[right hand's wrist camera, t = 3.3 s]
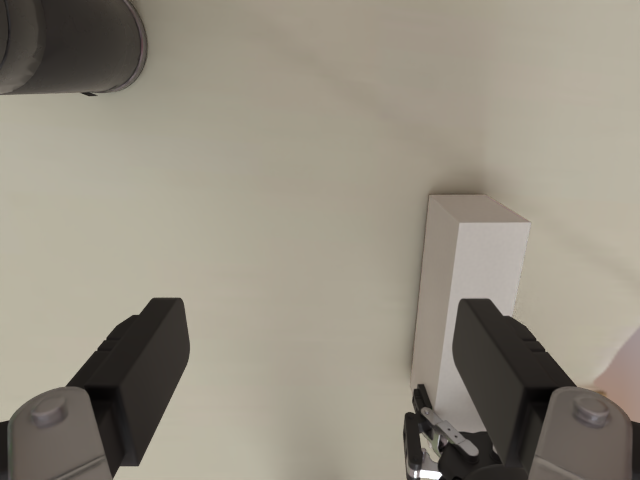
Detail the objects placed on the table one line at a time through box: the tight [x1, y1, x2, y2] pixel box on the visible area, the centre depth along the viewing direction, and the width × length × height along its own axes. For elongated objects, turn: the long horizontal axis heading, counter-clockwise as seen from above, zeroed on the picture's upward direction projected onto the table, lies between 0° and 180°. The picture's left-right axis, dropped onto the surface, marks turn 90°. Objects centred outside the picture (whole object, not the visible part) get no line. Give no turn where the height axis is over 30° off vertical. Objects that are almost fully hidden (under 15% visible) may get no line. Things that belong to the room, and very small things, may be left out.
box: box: [410, 194, 531, 448], centre depth 41 cm, size 25×6×9 cm, turn 0°
